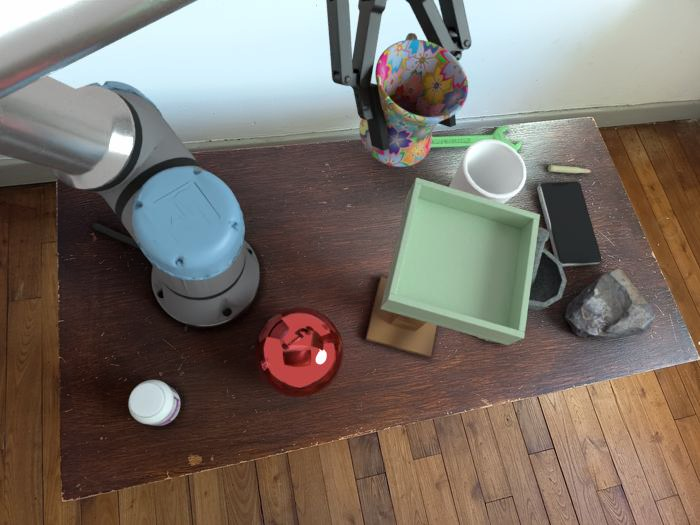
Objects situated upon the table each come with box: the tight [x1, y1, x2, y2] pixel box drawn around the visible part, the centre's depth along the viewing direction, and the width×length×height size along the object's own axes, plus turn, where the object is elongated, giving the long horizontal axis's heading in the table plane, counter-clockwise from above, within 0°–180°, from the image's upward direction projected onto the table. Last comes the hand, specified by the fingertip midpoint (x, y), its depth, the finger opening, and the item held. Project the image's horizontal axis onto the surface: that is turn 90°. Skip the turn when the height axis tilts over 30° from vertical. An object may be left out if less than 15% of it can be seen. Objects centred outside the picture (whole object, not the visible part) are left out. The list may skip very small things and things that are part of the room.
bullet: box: [547, 164, 592, 175], centre depth 95 cm, size 1×1×8 cm
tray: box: [380, 177, 541, 346], centre depth 58 cm, size 14×14×4 cm
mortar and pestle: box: [528, 226, 568, 311], centre depth 81 cm, size 11×9×12 cm
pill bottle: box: [128, 379, 181, 427], centre depth 68 cm, size 5×5×10 cm
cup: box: [448, 139, 527, 204], centre depth 84 cm, size 10×10×13 cm
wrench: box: [430, 125, 523, 152], centre depth 93 cm, size 25×2×5 cm
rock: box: [564, 267, 657, 339], centre depth 85 cm, size 14×11×5 cm
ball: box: [253, 306, 345, 399], centre depth 72 cm, size 12×12×12 cm
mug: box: [358, 32, 469, 168], centre depth 57 cm, size 12×9×11 cm
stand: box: [364, 276, 438, 358], centre depth 71 cm, size 10×10×24 cm
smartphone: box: [536, 180, 603, 268], centre depth 91 cm, size 8×1×15 cm
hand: (414, 135), depth 57 cm, fingers closed on mug, 7 cm apart
